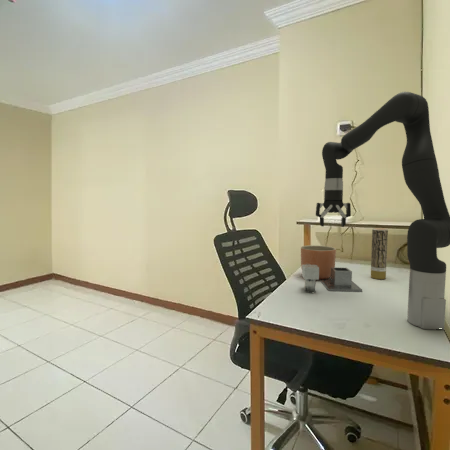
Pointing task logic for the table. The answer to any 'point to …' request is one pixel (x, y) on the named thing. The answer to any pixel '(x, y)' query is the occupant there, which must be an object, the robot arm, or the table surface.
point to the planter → (319, 258)
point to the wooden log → (379, 253)
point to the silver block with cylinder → (310, 276)
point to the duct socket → (341, 281)
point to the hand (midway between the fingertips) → (332, 226)
